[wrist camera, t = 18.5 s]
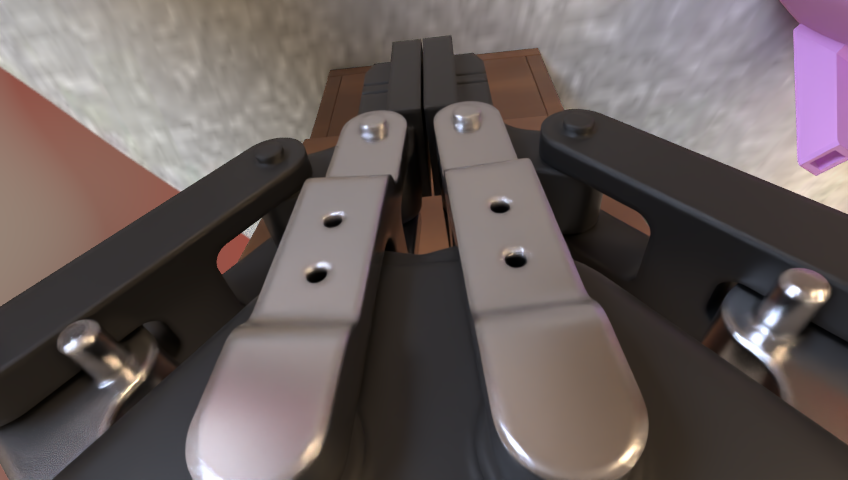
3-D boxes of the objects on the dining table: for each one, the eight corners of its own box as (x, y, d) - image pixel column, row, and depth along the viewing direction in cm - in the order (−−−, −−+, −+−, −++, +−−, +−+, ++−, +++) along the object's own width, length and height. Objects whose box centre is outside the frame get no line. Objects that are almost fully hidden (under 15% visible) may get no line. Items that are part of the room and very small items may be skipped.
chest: (525, 225, 38) (543, 301, 33) (373, 237, 39) (365, 314, 34) (538, 47, 28) (567, 116, 22) (329, 70, 29) (308, 141, 23)
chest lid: (758, 425, 9) (771, 400, 9) (159, 456, 10) (141, 433, 10) (569, 129, 22) (570, 112, 22) (308, 154, 23) (304, 138, 23)
